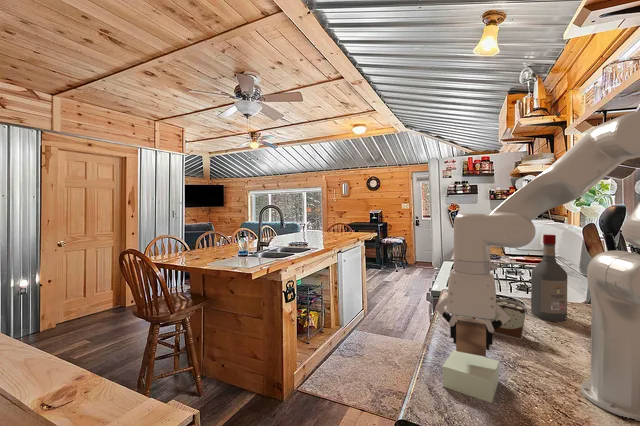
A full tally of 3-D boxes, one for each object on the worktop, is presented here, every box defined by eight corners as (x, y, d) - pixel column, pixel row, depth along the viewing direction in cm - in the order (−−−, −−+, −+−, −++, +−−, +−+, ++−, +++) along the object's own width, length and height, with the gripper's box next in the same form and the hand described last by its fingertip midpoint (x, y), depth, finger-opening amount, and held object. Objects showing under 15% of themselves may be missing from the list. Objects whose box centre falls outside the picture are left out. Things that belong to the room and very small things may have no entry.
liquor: (571, 321, 107) (572, 236, 106) (544, 321, 107) (545, 236, 106) (552, 312, 116) (553, 233, 115) (527, 312, 116) (528, 233, 116)
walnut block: (485, 345, 72) (485, 320, 72) (485, 356, 67) (486, 329, 67) (457, 340, 75) (457, 316, 75) (456, 351, 70) (456, 325, 69)
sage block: (498, 382, 72) (498, 361, 72) (492, 404, 64) (492, 381, 64) (453, 368, 78) (453, 349, 78) (442, 387, 70) (442, 366, 70)
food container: (531, 334, 97) (531, 303, 97) (527, 341, 92) (527, 308, 92) (488, 324, 105) (488, 295, 105) (482, 330, 101) (482, 300, 100)
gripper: (513, 267, 70) (512, 345, 70) (433, 261, 78) (433, 331, 78) (517, 274, 63) (516, 360, 64) (429, 267, 71) (429, 343, 71)
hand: (470, 343), depth 71 cm, fingers closed on walnut block, 6 cm apart
